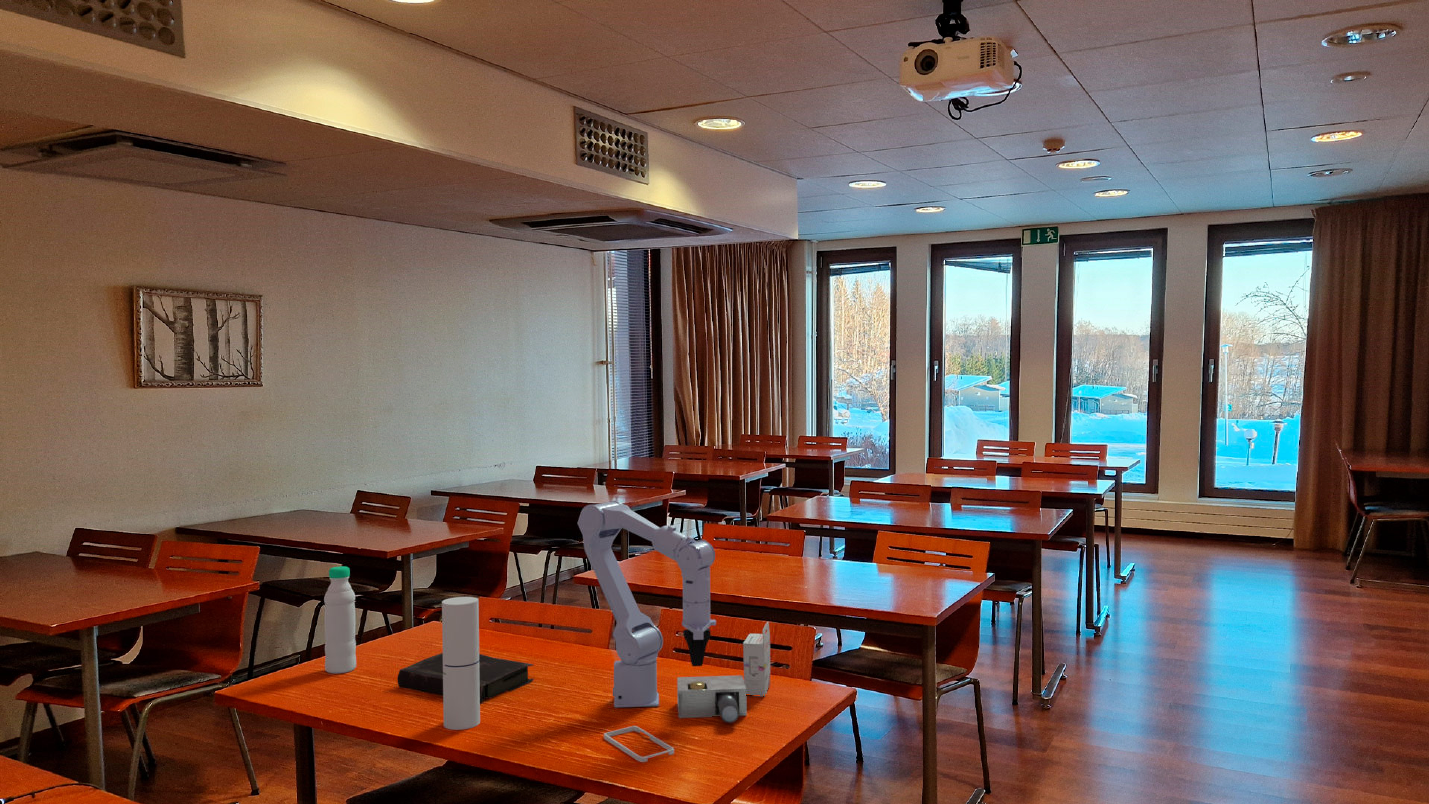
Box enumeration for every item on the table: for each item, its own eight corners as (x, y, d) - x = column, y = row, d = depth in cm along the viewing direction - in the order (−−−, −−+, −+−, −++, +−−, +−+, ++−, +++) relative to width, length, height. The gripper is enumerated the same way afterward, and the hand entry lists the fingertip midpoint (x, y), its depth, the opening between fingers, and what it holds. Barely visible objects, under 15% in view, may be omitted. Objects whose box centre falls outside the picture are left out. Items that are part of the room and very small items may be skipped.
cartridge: (720, 723, 186) (720, 704, 186) (716, 703, 198) (715, 685, 198) (739, 723, 186) (739, 704, 186) (733, 702, 199) (733, 684, 199)
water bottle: (362, 668, 228) (361, 566, 228) (337, 676, 222) (335, 571, 222) (344, 664, 232) (342, 563, 232) (318, 671, 226) (317, 568, 226)
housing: (678, 717, 192) (678, 690, 192) (677, 703, 201) (677, 677, 201) (746, 715, 193) (746, 688, 193) (742, 701, 202) (742, 675, 202)
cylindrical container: (460, 732, 185) (459, 606, 185) (436, 725, 189) (434, 602, 188) (487, 721, 191) (485, 599, 191) (462, 715, 195) (461, 595, 195)
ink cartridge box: (749, 684, 214) (748, 619, 213) (770, 685, 213) (770, 620, 212) (743, 696, 205) (742, 629, 205) (765, 697, 204) (764, 630, 204)
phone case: (602, 740, 181) (641, 765, 169) (602, 733, 181) (641, 758, 169) (635, 731, 186) (675, 756, 173) (635, 725, 186) (675, 748, 173)
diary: (480, 708, 202) (480, 685, 201) (397, 691, 213) (396, 669, 213) (536, 682, 218) (535, 661, 218) (456, 668, 230) (455, 647, 230)
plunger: (690, 694, 193) (690, 686, 193) (689, 690, 196) (689, 681, 196) (705, 694, 193) (704, 685, 193) (704, 689, 196) (704, 681, 196)
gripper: (718, 607, 187) (718, 675, 188) (713, 592, 202) (713, 654, 202) (682, 608, 187) (683, 676, 187) (680, 592, 201) (681, 655, 202)
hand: (697, 665), depth 194 cm, fingers closed
